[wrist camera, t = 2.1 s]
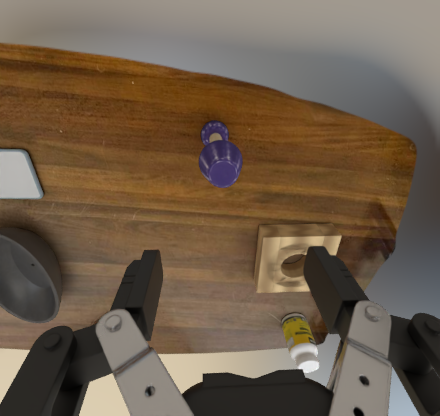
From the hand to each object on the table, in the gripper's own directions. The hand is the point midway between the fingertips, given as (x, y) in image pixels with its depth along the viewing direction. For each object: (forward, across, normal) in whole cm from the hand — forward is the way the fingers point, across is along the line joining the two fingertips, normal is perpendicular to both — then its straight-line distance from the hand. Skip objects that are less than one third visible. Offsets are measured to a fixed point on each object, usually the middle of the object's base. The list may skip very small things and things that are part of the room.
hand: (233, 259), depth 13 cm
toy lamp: (+28, 0, 0) cm, 28 cm away
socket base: (+28, -15, +24) cm, 40 cm away
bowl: (+28, +35, +24) cm, 51 cm away
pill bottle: (+28, -19, +46) cm, 57 cm away
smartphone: (+28, +36, +6) cm, 46 cm away
